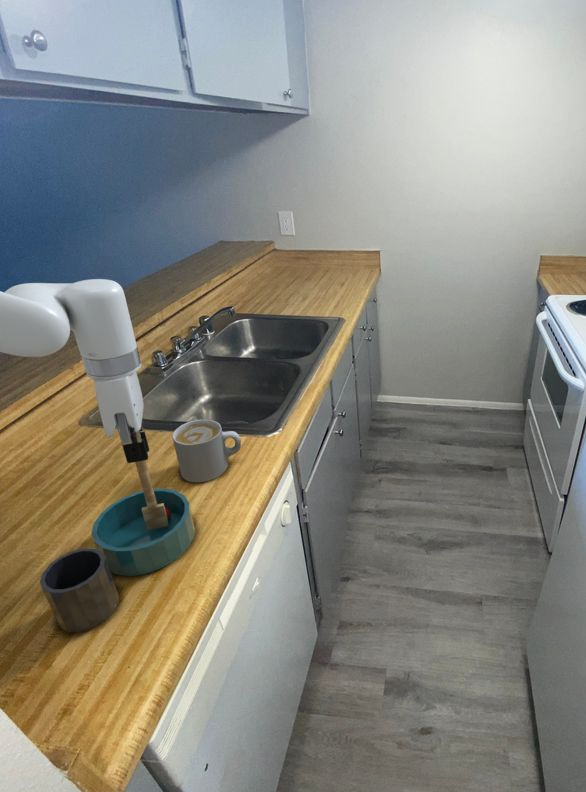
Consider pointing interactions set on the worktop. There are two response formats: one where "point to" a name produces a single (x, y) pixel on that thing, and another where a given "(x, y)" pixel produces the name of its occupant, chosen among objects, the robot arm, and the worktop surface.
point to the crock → (80, 589)
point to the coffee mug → (203, 449)
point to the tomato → (167, 512)
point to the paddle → (150, 500)
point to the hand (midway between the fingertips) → (138, 456)
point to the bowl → (143, 533)
